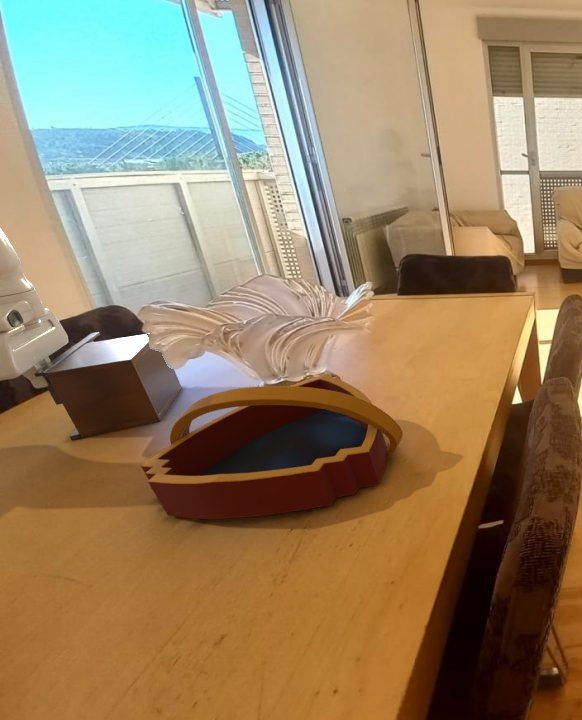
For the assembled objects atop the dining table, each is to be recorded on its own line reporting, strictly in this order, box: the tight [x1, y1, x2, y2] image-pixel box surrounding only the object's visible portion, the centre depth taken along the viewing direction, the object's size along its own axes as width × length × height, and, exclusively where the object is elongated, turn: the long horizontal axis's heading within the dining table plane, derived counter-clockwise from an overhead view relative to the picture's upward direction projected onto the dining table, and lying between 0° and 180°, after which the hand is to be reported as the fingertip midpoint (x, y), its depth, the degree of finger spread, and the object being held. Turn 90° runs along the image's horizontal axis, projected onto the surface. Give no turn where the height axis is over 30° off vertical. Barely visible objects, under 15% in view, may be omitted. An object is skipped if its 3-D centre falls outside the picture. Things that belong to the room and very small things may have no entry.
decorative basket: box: [140, 374, 404, 520], centre depth 73 cm, size 34×29×15 cm
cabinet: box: [34, 331, 183, 441], centre depth 95 cm, size 12×25×13 cm, turn 30°
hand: (45, 384), depth 85 cm, fingers closed
